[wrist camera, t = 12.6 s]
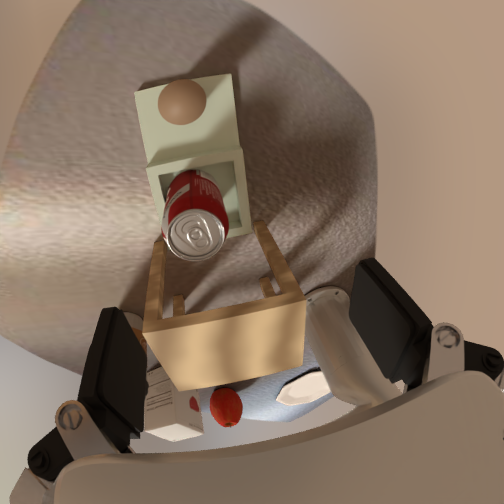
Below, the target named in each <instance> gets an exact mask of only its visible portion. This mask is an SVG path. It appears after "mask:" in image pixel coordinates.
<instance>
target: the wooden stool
mask: <svg viewBox="0 0 504 504" xmlns="http://www.w3.org/2000/svg"><path fill="white" fill-rule="evenodd" d="M253 225H254V232H255V234H256V236H257V239H258V241H259V243H260V245H261V247H262V250H263V252H264V254H265V256H266V258H267V261H268V263H269V265H270V267H271V269H272V272H273V274H274V276H275V278H276V280H277V283H278V285H279V287H280V289H281V292H282V295H278V296H276V294H275V292H274V289H273V287H272V285H271V282H270V280H269V278H268V277H264V278H260V279H259V280H260V287H261V289H262V292H263V295H264V297H265V298H264V299H260V300H256V301H251V302H246V303H242V304H237V305H232V306H228V307H223V308H218V309H213V310H208V311H203V312H198V313H192V314H187V315H185V305H184V299H183V296H182V295H177V296H173V317H171V318H165V319H162V315H163V294H164V279H165V266H166V254H167V247H166V244H165V241H164V240H163V241H158V242H154V248H153V254H152V260H151V266H150V273H149V280H148V287H147V294H146V302H145V311H144V320H143V331H142V334H143V336H144V337H145V339H146V341H147V343H148V344H149V346H150V348H151V349H152V351H153V352H154V354H155V356H156V357H157V359H158V361H159V362H160V364H161V365H162V367H163V368H164V370H165V371H166V373H167V374H168V376H169V377H170V379H171V380H172V382H173V383H174V385H175V386H176V388H177V389H178V391H185V390H192V389H199V388H205V387H211V386H217V385H222V384H227V383H233V382H237V381H242V380H247V379H251V378H256V377H260V376H264V375H268V374H273V373H276V372H280V371H284V370H288V369H292V368H295V367H299V366H302V361H303V349H304V335H305V319H306V298H305V296H304V294H303V292H302V290H301V289H300V287H299V285H298V283H297V281H296V279H295V277H294V275H293V274H292V272H291V270H290V268H289V266H288V264H287V262H286V261H285V259H284V257H283V255H282V253H281V251H280V250H279V248H278V246H277V244H276V242H275V241H274V239H273V237H272V235H271V233H270V231H269V230H268V228H267V226H266V224H265V222H264V221H257V222H253Z"/></svg>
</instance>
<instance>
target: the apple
mask: <svg viewBox="0 0 504 504" xmlns="http://www.w3.org/2000/svg"><path fill="white" fill-rule="evenodd" d="M242 408H243V405H242V402H241V399H240V397H239V396H238V394H237V393H236V392H235V391H233V390H232V389H229V388H221V389H218V390H216V391H214V392H213V394H212V396H211V398H210V411H211V414H212V415H213V417H214V418H215V420H216V421H217V422H218V423H219V424H220V425H222V426H223V427H231V426H234V425H236V424H237V423H238V422H239V420H240V418H241V415H242Z"/></svg>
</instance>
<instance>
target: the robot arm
mask: <svg viewBox="0 0 504 504" xmlns="http://www.w3.org/2000/svg"><path fill="white" fill-rule="evenodd" d="M305 298H306V319H305V336H306V338H307V340H308V342H309V344H310V347H311V349H312V351H313V353H314V355H315V358H316V360H317V362H318V364H319V367H320V369H321V371H322V373H323V375H324V378H325V380H326V382H327V384H328V387H329V389H330V391H331V392H332V394H333V395H334V396H335V397H336V398H338V399H340V400H342V401H344V402H347V403H350V404H353V405H356V407H355V408H354V409H353V410H351V411H349V412H348V413H346V414H344V415H342V416H340V417H339V418H336V419H334V420H332V421H330V422H328V423H326V424H325V425H322V426H320V427H317V428H314V429H310V430H306V431H303V432H299V433H296V434H292V435H288V436H284V437H280V438H275V439H271V440H266V441H262V442H256V443H251V444H245V445H239V446H233V447H227V448H219V449H211V450H201V451H191V452H174V453H142V454H140V453H135V452H134V450H133V449H132V448H131V447H130V446H129V445H130V439H140V432H143V430H144V403H145V384H146V370H147V356H146V353H145V351H144V349H143V348H142V346H141V344H140V342H139V341H138V339H137V337H136V335H135V333H134V331H133V330H132V328H131V326H130V324H129V322H128V320H127V318H126V316H125V314H124V313H123V311H122V310H119V309H118V308H117V307H110V308H103V309H102V311H101V314H100V317H99V320H98V323H97V327H96V330H95V333H94V337H93V340H92V344H91V346H90V348H89V352H88V355H87V359H86V363H85V367H84V371H83V376H82V380H81V385H80V389H79V394H78V399H77V401H75V400H70V401H66V402H65V403H63V404H62V405H61V406H60V407H59V408H58V410H57V412H56V415H55V423H56V427H55V428H54V429H53V430H52V431H51V432H49V434H47V435H46V436H45V437H44V438H42V439H41V440H40V441H39V442H38V443H37V444H35V445H34V446H33V447H32V448H31V450H30V451H29V454H28V465H29V469H28V468H25V469H24V471H23V473H22V474H21V476H20V478H19V480H18V481H17V483H16V485H15V487H14V489H13V491H12V493H11V495H10V504H504V360H503V357H502V355H501V354H500V353H499V352H498V351H497V350H496V349H494V348H491V347H487V346H483V345H480V344H476V343H472V342H468V341H465V340H464V338H463V335H462V333H461V331H460V330H459V329H458V328H457V327H456V326H454V325H453V324H450V323H439V324H437V325H436V326H435V327H433V325H432V324H431V323H432V322H431V321H430V320H429V318H428V317H427V316H426V315H425V313H424V312H423V311H422V310H421V309H420V308H419V307H418V305H417V304H416V303H415V302H414V301H413V299H412V298H411V297H410V296H409V295H408V294H407V293H406V291H405V290H404V289H403V288H402V287H401V286H400V285H399V284H398V283H397V281H396V280H395V279H394V278H393V277H392V276H391V275H390V274H389V273H388V272H387V271H386V270H385V269H384V268H383V267H382V265H381V264H380V263H379V262H378V261H377V260H376V259H375V258H368V259H364V260H361V261H360V262H359V264H358V265H357V266H356V269H355V276H354V283H353V289H352V295H351V301H350V300H349V297H348V295H347V293H346V292H345V291H344V290H343V289H341V288H339V287H335V286H328V287H323V288H319V289H316V290H314V291H312V292H310V293H309V294H307V295H306V296H305ZM399 380H403V382H404V383H405V386H404V391H403V394H402V392H401V391H400V390H399V389H398V388H397V386H396V385H395V384H394V383H395V382H397V381H399Z"/></svg>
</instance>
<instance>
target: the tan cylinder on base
mask: <svg viewBox="0 0 504 504" xmlns="http://www.w3.org/2000/svg"><path fill="white" fill-rule="evenodd" d="M134 94H135V100H136V106H137V111H138V117H139V122H140V127H141V132H142V137H143V142H144V147H145V151H146V156H147V160H148V166H147V167H146V171H147V175H148V179H149V183H150V187H151V191H152V195H153V199H154V202H155V206H156V210H157V213H158V217H159V221H160V224H162V218H163V212H164V207H165V202H166V197H167V193H168V188H169V186H170V183H171V182H172V180H173V179H174V178H175V177H176V176H177V175H179V174H180V173H182V172H184V171H187V170H202V171H205V172H207V173H209V174H210V175H211V176H213V177H214V179H215V180H216V181H217V183H218V185H219V189H220V192H221V196H222V199H223V203H224V206H225V209H226V213H227V216H228V220H229V231H228V235H227V237H226V238H230V237H235V236H240V235H246V234H251V233H252V226H251V217H250V208H249V200H248V191H247V182H246V174H245V165H244V156H243V149H242V148H241V147H240V144H239V136H238V127H237V119H236V110H235V102H234V94H233V85H232V77H231V74H223V75H215V76H208V77H202V78H196V79H190V80H188V79H180V80H175V81H173V82H171V83H169V84H165V85H161V86H157V87H153V88H149V89H145V90H141V91H137V92H134ZM166 244H167V243H166ZM167 248H168V250H171V249H170V248H169V246H168V244H167Z"/></svg>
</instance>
